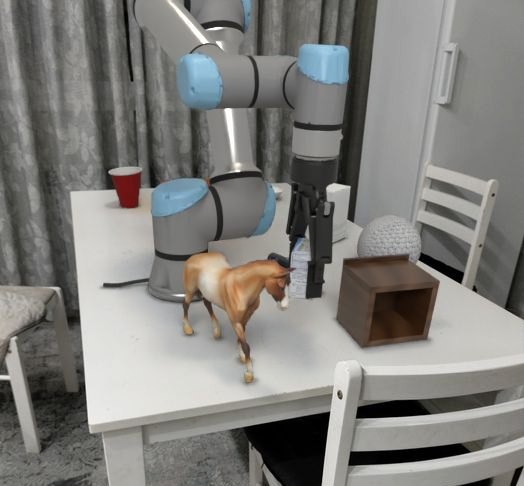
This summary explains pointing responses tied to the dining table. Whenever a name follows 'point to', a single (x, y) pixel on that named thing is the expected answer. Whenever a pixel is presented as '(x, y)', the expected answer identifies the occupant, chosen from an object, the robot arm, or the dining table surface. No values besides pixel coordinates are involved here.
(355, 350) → the dining table surface
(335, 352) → the dining table surface
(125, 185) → the plastic cup
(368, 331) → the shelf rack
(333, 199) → the white product box
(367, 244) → the decorative ball
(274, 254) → the can opener
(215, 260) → the horse figurine
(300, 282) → the medicine box
